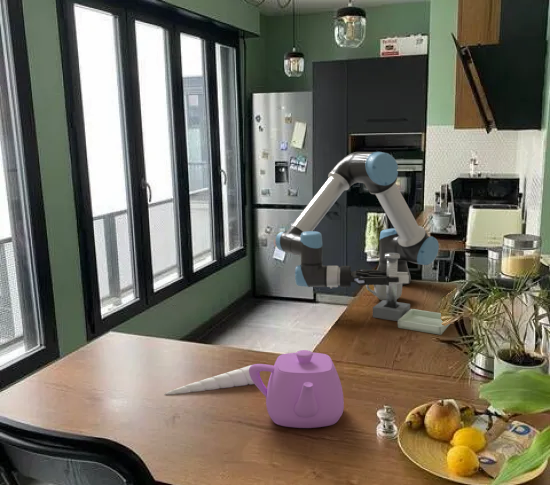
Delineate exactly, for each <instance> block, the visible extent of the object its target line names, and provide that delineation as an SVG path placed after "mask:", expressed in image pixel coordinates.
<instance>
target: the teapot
mask: <svg viewBox="0 0 550 485" xmlns="http://www.w3.org/2000/svg"><path fill="white" fill-rule="evenodd" d="M251 365H252V366H250V365H249V366H250V368H249V374H250V377H251V379H252V381H253V382H254V384H253V385H255V387H257V388H258V390H259V391H260V392H261V393H262V395H263V396H264V397H265V405H266V411H267V414H268V416H269V417H270V419H271V421H272V422H273V423H274V424H276V425H278V426H282V427H287V428H296V429H297V428H298V429H312V428H313V429H314V428H321V427H322V428H323V427H328V426H333V425H335V424H336V423H337V422H338V421H339V420H340V418H341V417H342V415H343V412H344V407H345V406H344V405H345V404H344V393H343V386H342V383H341V379H340V377H339V373H338V372H337V369H336V366H335V364H334V362H333V360H332V358H331V356H329V355H328V354H327V353H326V354H325V353H322V352H321V353H320V352H312V351H310V350H308V349H302V350H298V351H296V352H290V353H289V352H288V353H282V354H280V355H279V356H277V357H276V360H275V362H274V365H272V364H265V363H255V364H251ZM261 372H270V375H269V379H268V382H267V387H266V385H265V384H264V382H263V380H262V378H261V375H260V374H261Z"/></svg>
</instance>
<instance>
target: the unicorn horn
mask: <svg viewBox="0 0 550 485" xmlns="http://www.w3.org/2000/svg"><path fill="white" fill-rule="evenodd" d="M252 365H253V364H249V365H247V366H244V367H241V368H238V369H234V370H229V371H228V372H225V373H221V374H218V375H213V376H212V377H207V378H205V379H200V380H198V381H195V382H191V383H188V384H186V385H183V386H180V387H177V388H175V389H172V390H169V391H167V392H164V395H168V396H169V395H177V394H179V395H180V394H187V393H191V392H192V393H195V392H196V393H197V392H204V391H211V390H219V389H220V390H221V389H227V388H234V387H243V386H248V385H249V386H250V385H255V384H254V382H253V381H252V379H251V377H250V374H249V368H250V366H252Z"/></svg>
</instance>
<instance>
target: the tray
mask: <svg viewBox="0 0 550 485" xmlns="http://www.w3.org/2000/svg"><path fill="white" fill-rule="evenodd" d="M441 313H442V312H435V311H428V310H424V309H423V310H421V309H417V308H416V309H415V308H410V310H409V311H408V312H407V313H406V314H405V315H403V316H402V317H401V318H400V319H399V320H398V321H397V328H399V329H405V330H409V331H410V330H411V331H416V332H422V333H427V334H433V335H438V336H442V335H443V334H444V332H446V330H447V328H449V326H450V325H451V324H452V322H451V323H450V324H448V325H446V326H444V325H442V324H441V323H442V322H443V321H442V320H441V318H440V317H441Z"/></svg>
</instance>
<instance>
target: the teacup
mask: <svg viewBox="0 0 550 485" xmlns="http://www.w3.org/2000/svg"><path fill="white" fill-rule="evenodd" d="M373 287H374V290H372V289H371V288H370V285H365V288H366V289H367V291H369V292H370V293H371V294H372V295H374V296H375V297H376V298H378V299H379V300H380V301H382V300H386V285H373ZM402 293H403V285H402V283H397V300H398V299H400V297H401V296H402V295H403V294H402Z"/></svg>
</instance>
